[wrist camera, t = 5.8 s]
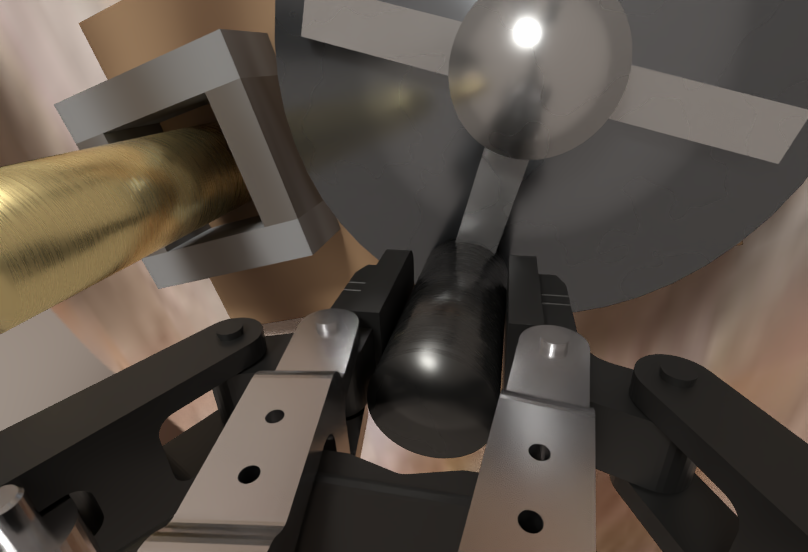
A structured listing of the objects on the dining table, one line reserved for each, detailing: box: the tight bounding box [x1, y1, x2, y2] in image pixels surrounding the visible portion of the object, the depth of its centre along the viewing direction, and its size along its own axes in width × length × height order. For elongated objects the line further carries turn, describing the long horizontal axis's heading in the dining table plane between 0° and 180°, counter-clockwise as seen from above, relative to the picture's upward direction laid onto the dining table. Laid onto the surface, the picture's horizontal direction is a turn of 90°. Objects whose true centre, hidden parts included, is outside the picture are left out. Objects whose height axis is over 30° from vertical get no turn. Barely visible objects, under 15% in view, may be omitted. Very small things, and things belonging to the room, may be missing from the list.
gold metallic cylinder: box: [0, 121, 252, 334], centre depth 15 cm, size 4×4×11 cm
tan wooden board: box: [54, 0, 743, 324], centre depth 16 cm, size 23×15×4 cm, turn 107°
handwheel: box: [275, 0, 808, 458], centre depth 9 cm, size 14×14×8 cm
